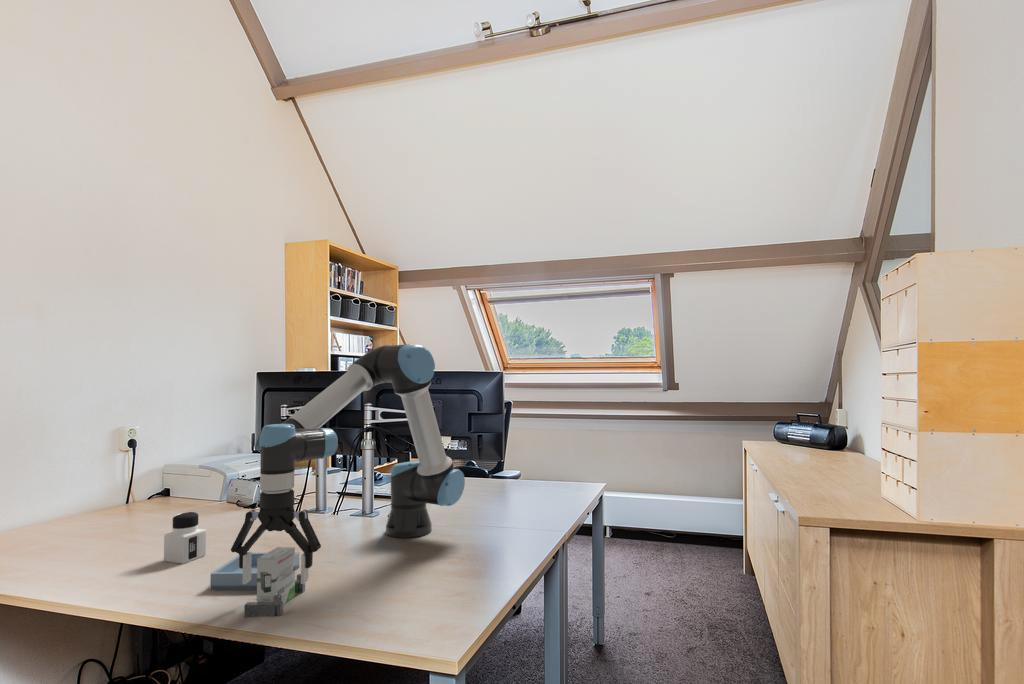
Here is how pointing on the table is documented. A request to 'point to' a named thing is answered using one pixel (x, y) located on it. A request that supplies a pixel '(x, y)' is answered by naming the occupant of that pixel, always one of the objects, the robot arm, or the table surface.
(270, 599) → the ink box
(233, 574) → the bin
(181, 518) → the container
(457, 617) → the table surface
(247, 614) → the cradle
